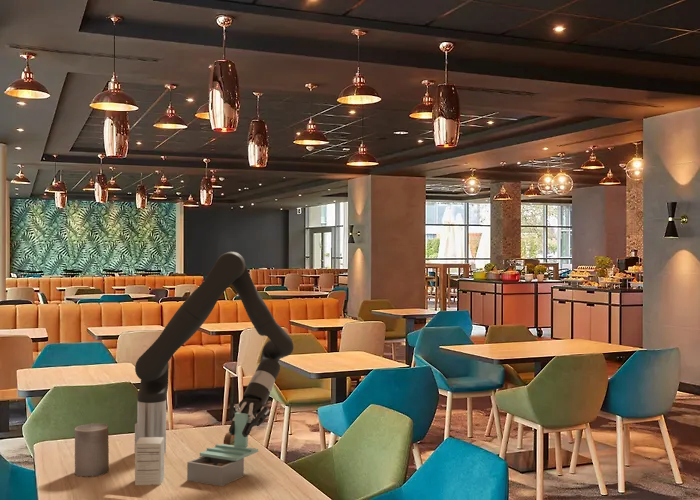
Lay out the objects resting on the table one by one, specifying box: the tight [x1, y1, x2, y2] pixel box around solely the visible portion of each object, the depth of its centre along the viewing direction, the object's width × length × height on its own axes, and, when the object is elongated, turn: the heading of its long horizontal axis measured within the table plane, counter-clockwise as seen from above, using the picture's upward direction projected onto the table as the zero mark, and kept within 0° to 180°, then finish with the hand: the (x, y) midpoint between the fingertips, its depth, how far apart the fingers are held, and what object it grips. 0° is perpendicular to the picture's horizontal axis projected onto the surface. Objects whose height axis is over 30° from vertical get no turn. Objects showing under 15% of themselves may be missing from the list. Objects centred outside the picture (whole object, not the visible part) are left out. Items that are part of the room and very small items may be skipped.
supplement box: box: [134, 437, 165, 486], centre depth 219 cm, size 7×7×13 cm
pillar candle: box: [74, 422, 110, 477], centre depth 230 cm, size 10×10×15 cm
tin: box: [223, 431, 235, 446], centre depth 251 cm, size 15×3×8 cm, turn 168°
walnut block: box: [217, 461, 231, 466], centre depth 223 cm, size 4×4×4 cm
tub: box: [186, 456, 245, 487], centre depth 223 cm, size 12×11×6 cm
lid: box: [199, 412, 259, 461], centre depth 229 cm, size 13×13×11 cm
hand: (237, 434), depth 233 cm, fingers closed on lid, 4 cm apart
